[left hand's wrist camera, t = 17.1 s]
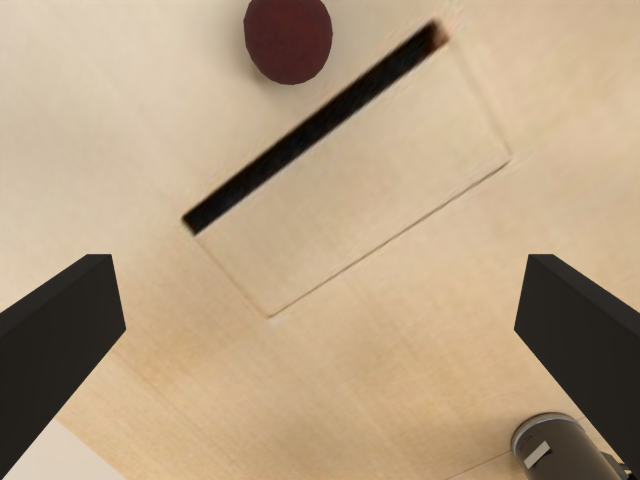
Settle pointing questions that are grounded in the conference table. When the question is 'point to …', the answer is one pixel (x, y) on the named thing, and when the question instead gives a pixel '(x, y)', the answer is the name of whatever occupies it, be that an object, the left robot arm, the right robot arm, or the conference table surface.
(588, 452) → the right robot arm
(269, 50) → the dark red round piece
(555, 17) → the conference table surface
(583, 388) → the left robot arm
